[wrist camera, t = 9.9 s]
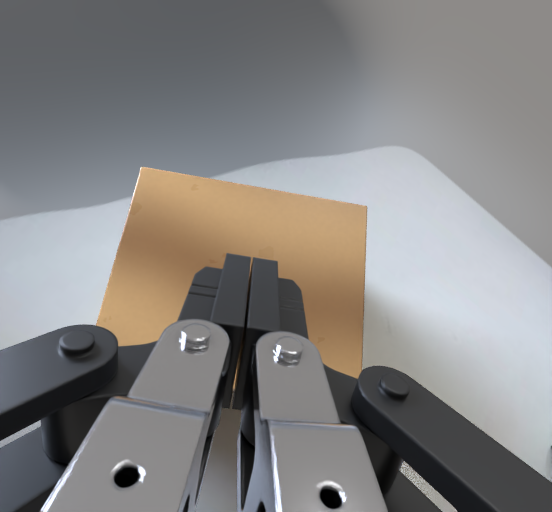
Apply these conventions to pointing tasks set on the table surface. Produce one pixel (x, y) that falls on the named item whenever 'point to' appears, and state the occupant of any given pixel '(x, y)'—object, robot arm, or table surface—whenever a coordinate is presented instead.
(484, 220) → the table surface
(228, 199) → the lid
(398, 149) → the table surface
